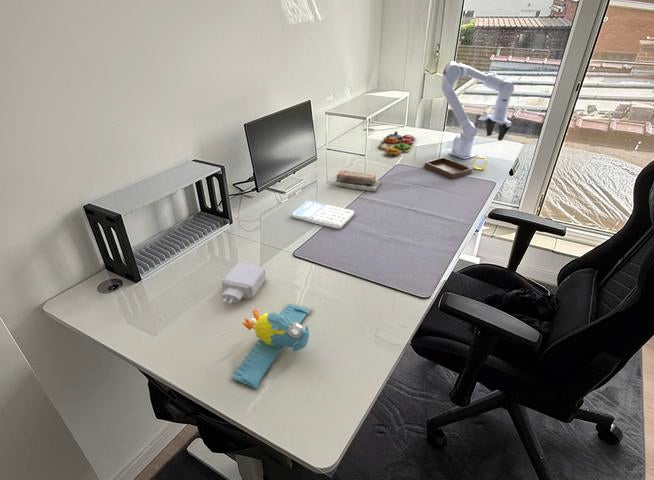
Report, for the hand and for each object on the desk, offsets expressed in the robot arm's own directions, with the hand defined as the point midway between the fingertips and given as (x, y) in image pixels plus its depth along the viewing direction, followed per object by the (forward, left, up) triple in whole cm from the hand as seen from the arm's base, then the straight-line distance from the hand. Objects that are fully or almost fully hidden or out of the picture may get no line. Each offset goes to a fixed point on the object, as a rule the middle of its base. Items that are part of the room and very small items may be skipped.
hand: (494, 137), depth 201 cm
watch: (+8, -18, -10) cm, 21 cm away
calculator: (+8, -103, -10) cm, 104 cm away
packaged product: (-8, -75, -10) cm, 77 cm away
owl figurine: (+57, -149, -10) cm, 160 cm away
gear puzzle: (-36, -29, -10) cm, 48 cm away
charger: (+34, -148, -10) cm, 152 cm away
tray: (+1, -30, -9) cm, 32 cm away
